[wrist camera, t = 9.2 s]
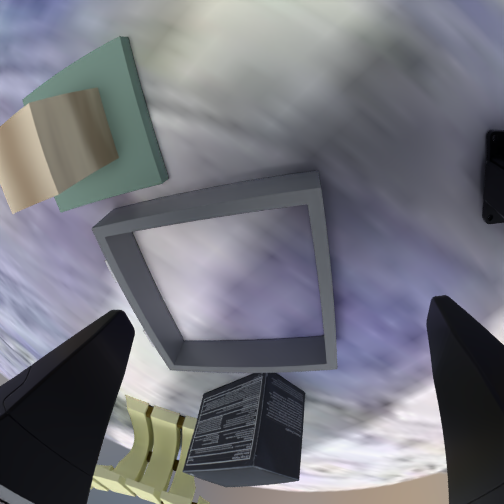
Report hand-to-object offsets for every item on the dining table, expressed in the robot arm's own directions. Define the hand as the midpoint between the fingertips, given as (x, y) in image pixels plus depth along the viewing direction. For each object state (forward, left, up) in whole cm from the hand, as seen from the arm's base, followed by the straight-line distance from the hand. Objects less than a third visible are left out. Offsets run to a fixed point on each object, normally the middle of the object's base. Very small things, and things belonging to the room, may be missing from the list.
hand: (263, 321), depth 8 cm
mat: (+12, -6, -12) cm, 18 cm away
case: (+5, +7, -12) cm, 15 cm away
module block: (+12, -6, -11) cm, 18 cm away
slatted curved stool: (+24, +36, -12) cm, 45 cm away
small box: (+7, +23, -12) cm, 27 cm away
